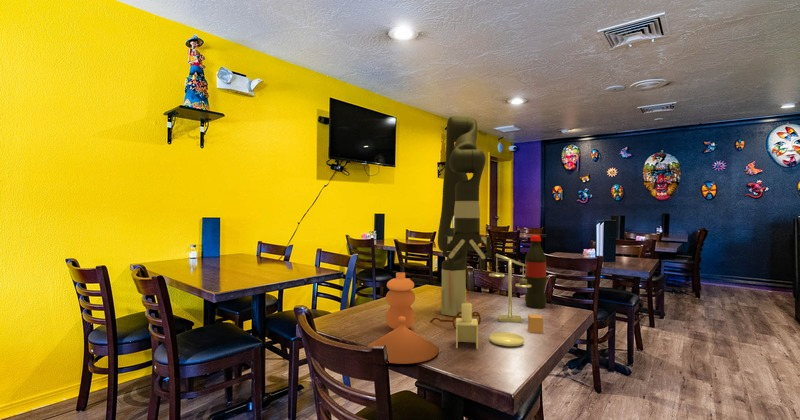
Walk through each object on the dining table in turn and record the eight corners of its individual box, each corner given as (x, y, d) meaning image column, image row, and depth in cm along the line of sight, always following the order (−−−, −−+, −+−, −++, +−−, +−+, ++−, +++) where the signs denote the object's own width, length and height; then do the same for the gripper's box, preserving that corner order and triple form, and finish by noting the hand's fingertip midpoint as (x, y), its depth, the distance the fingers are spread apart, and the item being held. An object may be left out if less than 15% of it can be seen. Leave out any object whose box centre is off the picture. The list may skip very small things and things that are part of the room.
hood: (456, 348, 110) (456, 306, 110) (456, 340, 116) (456, 301, 116) (477, 349, 109) (478, 307, 109) (476, 342, 115) (476, 302, 115)
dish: (491, 347, 110) (491, 342, 110) (488, 336, 120) (488, 331, 120) (526, 349, 109) (526, 343, 109) (520, 337, 119) (520, 333, 119)
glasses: (454, 332, 126) (454, 317, 126) (429, 323, 136) (429, 309, 137) (481, 325, 133) (481, 311, 133) (455, 317, 144) (455, 304, 144)
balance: (489, 321, 137) (489, 254, 137) (488, 317, 142) (488, 252, 143) (532, 323, 135) (532, 255, 135) (529, 319, 140) (529, 253, 141)
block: (530, 332, 124) (530, 317, 124) (528, 329, 128) (528, 314, 128) (543, 333, 124) (543, 318, 124) (540, 329, 128) (540, 314, 128)
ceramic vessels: (443, 363, 99) (443, 290, 99) (362, 363, 98) (362, 290, 98) (429, 324, 134) (430, 270, 134) (370, 324, 133) (370, 270, 133)
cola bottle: (543, 305, 162) (543, 235, 163) (549, 310, 154) (549, 236, 154) (522, 304, 163) (522, 234, 163) (527, 309, 155) (527, 235, 155)
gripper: (442, 216, 110) (442, 272, 110) (492, 216, 108) (492, 273, 108) (443, 216, 117) (443, 268, 117) (490, 216, 115) (490, 270, 115)
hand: (466, 271), depth 113 cm, fingers open, 8 cm apart
